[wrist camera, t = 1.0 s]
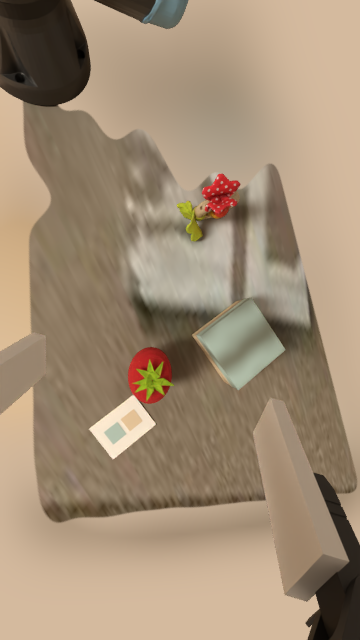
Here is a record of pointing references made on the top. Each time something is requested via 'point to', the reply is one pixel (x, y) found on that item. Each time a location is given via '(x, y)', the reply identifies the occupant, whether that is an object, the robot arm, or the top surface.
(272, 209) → the top surface
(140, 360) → the strawberry
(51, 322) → the top surface
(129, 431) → the page
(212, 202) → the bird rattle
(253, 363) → the base brick
